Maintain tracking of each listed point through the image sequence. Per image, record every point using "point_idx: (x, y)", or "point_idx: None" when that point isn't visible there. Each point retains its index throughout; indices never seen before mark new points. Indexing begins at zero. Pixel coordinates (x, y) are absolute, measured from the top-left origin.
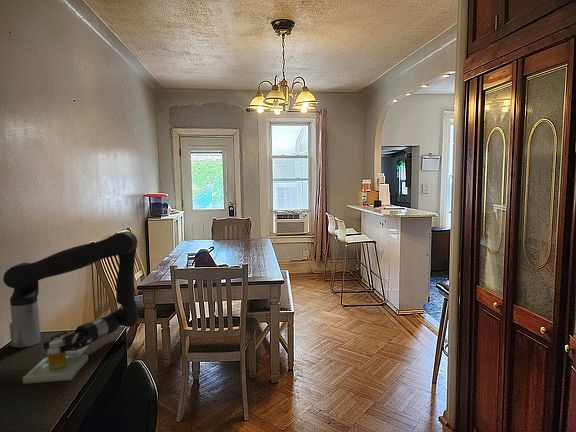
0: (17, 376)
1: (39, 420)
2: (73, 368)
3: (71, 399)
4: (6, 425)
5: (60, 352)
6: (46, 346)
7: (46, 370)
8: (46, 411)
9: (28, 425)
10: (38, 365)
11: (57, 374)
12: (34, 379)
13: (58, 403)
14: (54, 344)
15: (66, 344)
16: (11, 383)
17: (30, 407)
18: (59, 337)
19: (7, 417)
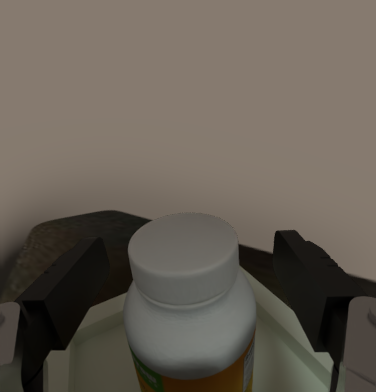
0: None
1: (63, 224)
2: (53, 384)
3: (14, 269)
4: (112, 210)
5: (108, 269)
6: (277, 261)
7: None
8: (62, 235)
9: (76, 217)
10: (299, 329)
11: (114, 303)
12: None
13: (46, 253)
14: (155, 222)
15: (62, 267)
16: (258, 259)
17: (106, 232)
18: (374, 377)
19: (126, 215)
